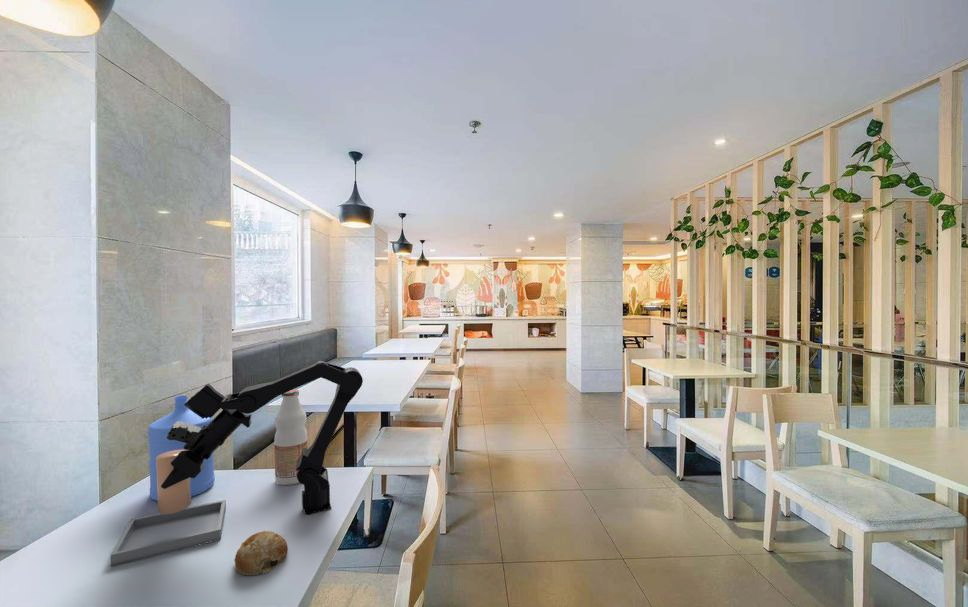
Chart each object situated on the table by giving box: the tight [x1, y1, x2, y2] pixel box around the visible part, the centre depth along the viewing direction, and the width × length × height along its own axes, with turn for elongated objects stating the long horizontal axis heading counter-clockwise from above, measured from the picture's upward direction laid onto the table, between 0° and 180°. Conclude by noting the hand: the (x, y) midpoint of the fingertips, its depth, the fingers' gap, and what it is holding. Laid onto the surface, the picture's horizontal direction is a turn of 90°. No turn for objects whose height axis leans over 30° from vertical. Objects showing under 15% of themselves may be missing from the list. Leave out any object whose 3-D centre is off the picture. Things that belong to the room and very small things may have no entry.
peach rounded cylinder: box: [156, 449, 192, 514], centre depth 100 cm, size 6×6×13 cm
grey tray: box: [110, 499, 227, 567], centre depth 101 cm, size 20×16×2 cm
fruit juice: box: [273, 388, 309, 486], centre depth 130 cm, size 9×9×28 cm
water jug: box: [147, 395, 216, 502], centre depth 123 cm, size 16×16×28 cm
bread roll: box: [234, 530, 289, 576], centre depth 90 cm, size 10×10×8 cm
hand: (167, 481), depth 100 cm, fingers closed on peach rounded cylinder, 6 cm apart
